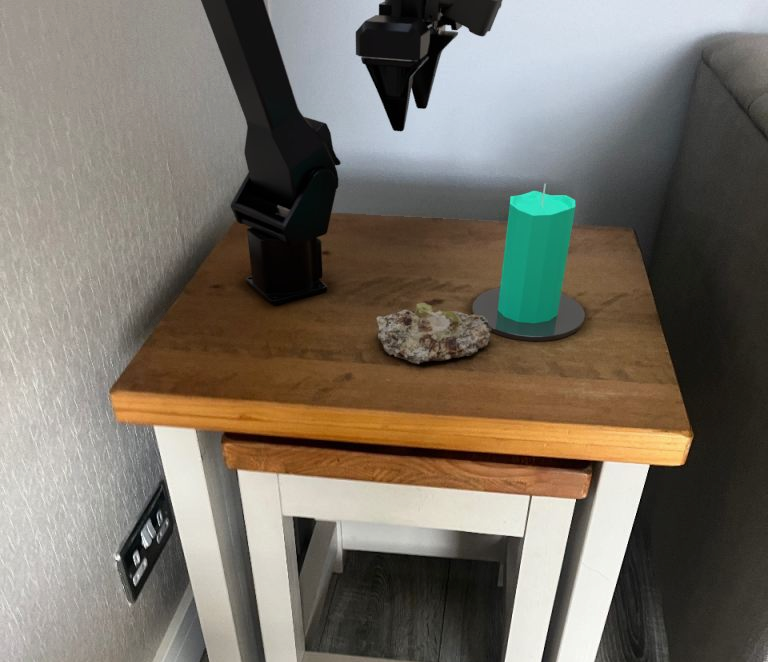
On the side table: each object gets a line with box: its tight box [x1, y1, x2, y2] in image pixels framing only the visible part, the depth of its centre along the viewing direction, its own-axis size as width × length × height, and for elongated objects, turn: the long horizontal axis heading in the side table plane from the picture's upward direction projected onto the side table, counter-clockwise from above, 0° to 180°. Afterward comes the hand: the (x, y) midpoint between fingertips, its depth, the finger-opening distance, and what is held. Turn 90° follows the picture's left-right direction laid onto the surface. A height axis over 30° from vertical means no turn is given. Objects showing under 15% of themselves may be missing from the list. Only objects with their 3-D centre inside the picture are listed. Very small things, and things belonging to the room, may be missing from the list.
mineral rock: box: [375, 302, 492, 365], centre depth 72 cm, size 11×4×8 cm
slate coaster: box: [471, 286, 586, 342], centre depth 77 cm, size 11×11×1 cm
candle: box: [498, 183, 576, 323], centre depth 73 cm, size 6×6×12 cm
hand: (410, 119), depth 83 cm, fingers open, 9 cm apart
